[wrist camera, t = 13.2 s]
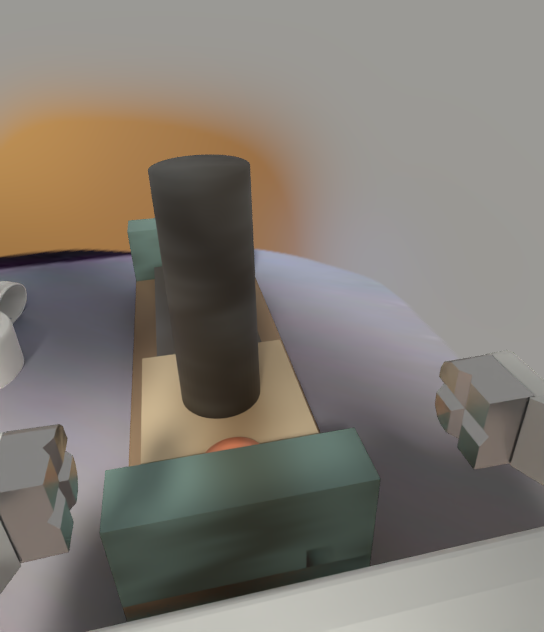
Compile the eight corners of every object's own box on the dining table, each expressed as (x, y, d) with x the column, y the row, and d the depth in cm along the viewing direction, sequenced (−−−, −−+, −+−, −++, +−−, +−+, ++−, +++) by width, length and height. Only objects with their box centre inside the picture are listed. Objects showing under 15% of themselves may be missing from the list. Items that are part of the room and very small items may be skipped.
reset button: (206, 510, 20) (199, 463, 18) (203, 489, 20) (197, 443, 19) (271, 497, 20) (270, 450, 19) (266, 478, 21) (264, 432, 20)
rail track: (130, 631, 18) (99, 533, 15) (139, 284, 42) (128, 220, 39) (368, 577, 19) (380, 479, 17) (247, 272, 43) (243, 210, 40)
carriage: (146, 490, 20) (83, 207, 14) (146, 382, 26) (102, 151, 20) (317, 459, 21) (326, 186, 15) (280, 363, 27) (276, 139, 21)
